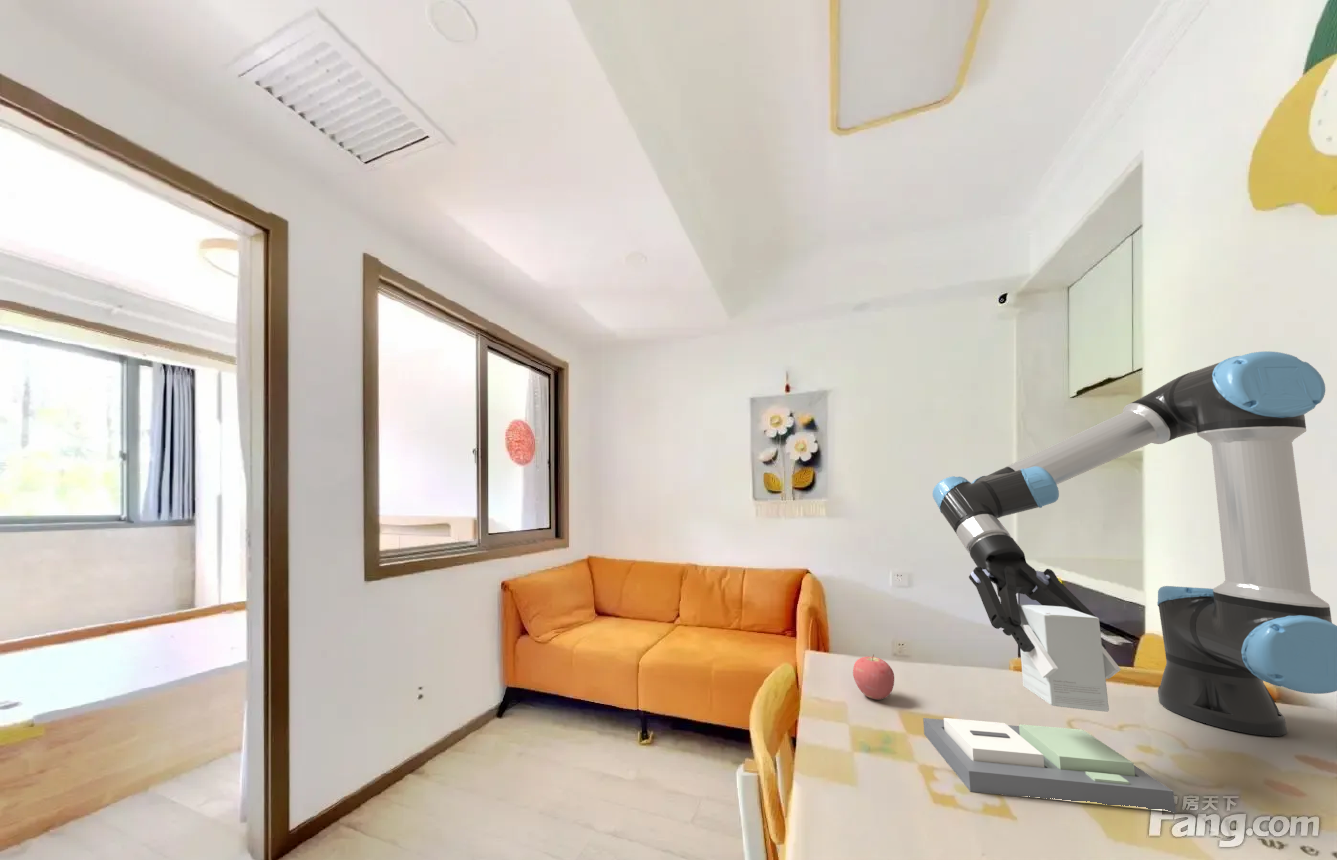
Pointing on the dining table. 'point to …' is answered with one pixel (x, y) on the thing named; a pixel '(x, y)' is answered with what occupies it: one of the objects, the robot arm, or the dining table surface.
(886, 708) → the dining table surface
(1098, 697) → the supplement box
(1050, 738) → the key
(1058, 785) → the grey flat rectangular block
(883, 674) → the apple
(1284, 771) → the dining table surface
